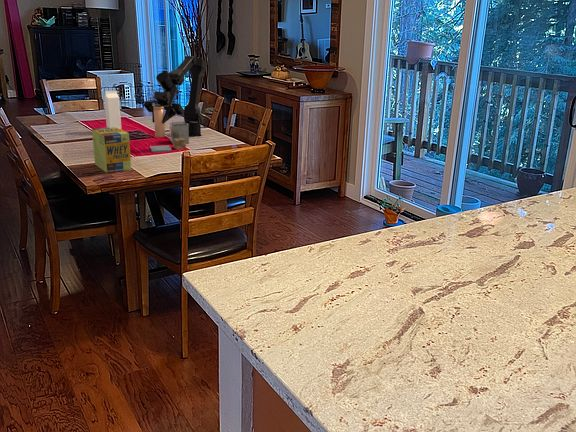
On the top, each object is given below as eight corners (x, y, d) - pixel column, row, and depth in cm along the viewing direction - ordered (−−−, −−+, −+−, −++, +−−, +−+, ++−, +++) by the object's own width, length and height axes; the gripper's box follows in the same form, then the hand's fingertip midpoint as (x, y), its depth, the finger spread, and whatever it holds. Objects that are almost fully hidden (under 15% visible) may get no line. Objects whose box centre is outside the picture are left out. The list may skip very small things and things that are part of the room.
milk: (121, 133, 294) (118, 91, 287) (110, 134, 291) (106, 91, 283) (118, 131, 299) (115, 89, 291) (106, 132, 296) (103, 90, 288)
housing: (186, 139, 285) (185, 121, 281) (188, 143, 278) (188, 124, 274) (169, 140, 282) (168, 121, 279) (171, 144, 275) (171, 124, 272)
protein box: (107, 173, 225) (103, 135, 220) (94, 164, 237) (91, 128, 231) (132, 170, 231) (129, 133, 226) (118, 161, 243) (115, 126, 237)
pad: (169, 146, 270) (169, 145, 269) (171, 151, 262) (171, 149, 261) (150, 147, 267) (150, 146, 266) (152, 152, 259) (152, 150, 258)
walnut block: (182, 146, 271) (181, 137, 269) (186, 148, 267) (185, 139, 266) (173, 147, 268) (173, 138, 267) (177, 149, 265) (176, 140, 263)
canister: (162, 134, 265) (161, 105, 260) (167, 136, 261) (165, 107, 257) (153, 135, 262) (151, 106, 258) (157, 137, 259) (155, 108, 254)
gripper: (144, 83, 260) (132, 110, 254) (179, 86, 255) (169, 114, 249) (153, 97, 270) (143, 124, 264) (188, 100, 264) (178, 128, 259)
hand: (157, 122), depth 258 cm, fingers closed on canister, 5 cm apart
